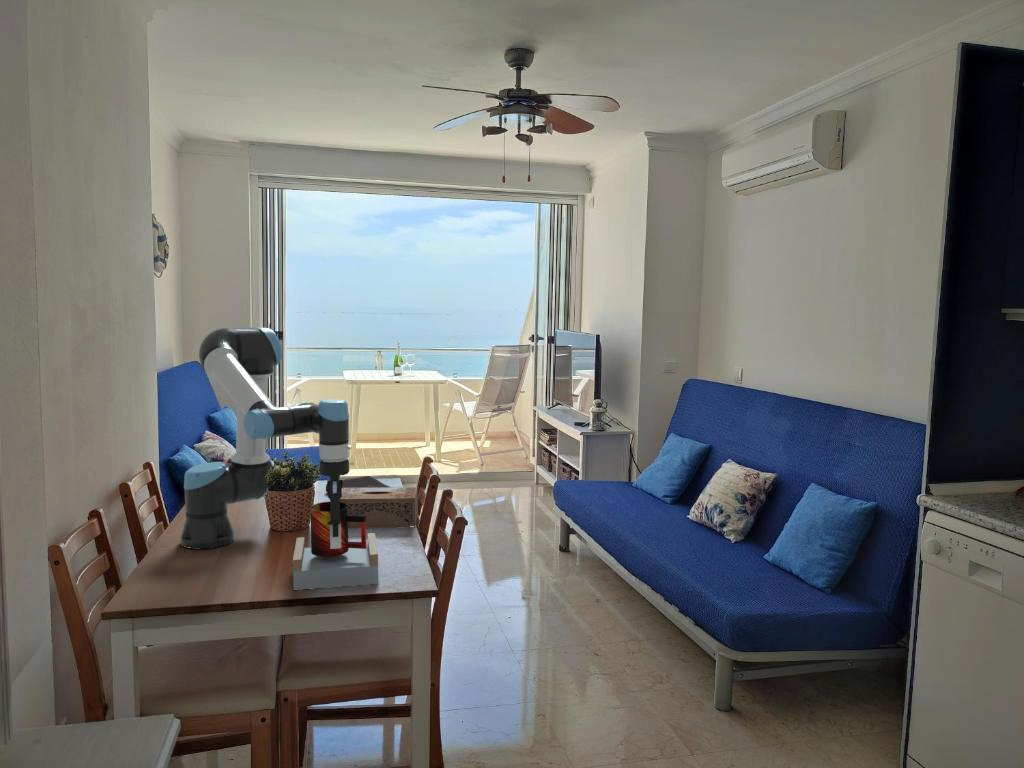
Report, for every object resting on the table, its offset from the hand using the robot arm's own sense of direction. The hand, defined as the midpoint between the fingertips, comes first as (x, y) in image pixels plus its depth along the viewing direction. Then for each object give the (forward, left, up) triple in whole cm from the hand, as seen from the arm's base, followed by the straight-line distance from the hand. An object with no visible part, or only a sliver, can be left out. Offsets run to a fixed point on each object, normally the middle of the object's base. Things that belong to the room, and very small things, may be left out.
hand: (335, 541), depth 196 cm
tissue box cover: (+13, +47, -10) cm, 50 cm away
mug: (+1, 0, -3) cm, 3 cm away
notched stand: (0, 0, -9) cm, 9 cm away
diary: (+9, +80, -10) cm, 81 cm away
